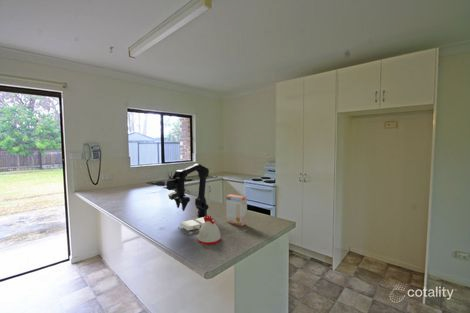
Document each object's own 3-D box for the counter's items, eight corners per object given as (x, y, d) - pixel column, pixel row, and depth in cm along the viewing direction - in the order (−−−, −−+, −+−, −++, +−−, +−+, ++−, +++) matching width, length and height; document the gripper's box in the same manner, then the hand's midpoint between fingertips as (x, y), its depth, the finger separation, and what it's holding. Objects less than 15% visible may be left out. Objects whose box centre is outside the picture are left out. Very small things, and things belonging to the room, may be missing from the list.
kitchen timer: (207, 233, 142) (207, 211, 142) (225, 238, 136) (224, 214, 135) (193, 241, 130) (192, 217, 130) (211, 247, 124) (211, 221, 123)
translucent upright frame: (246, 224, 159) (246, 196, 158) (241, 227, 154) (241, 197, 153) (231, 220, 167) (231, 193, 166) (226, 222, 163) (226, 195, 162)
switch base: (205, 221, 164) (205, 220, 164) (217, 228, 152) (217, 226, 152) (177, 228, 151) (177, 226, 151) (188, 236, 138) (187, 234, 138)
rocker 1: (192, 222, 156) (192, 219, 156) (200, 227, 146) (200, 224, 146) (180, 225, 150) (180, 221, 150) (188, 230, 140) (188, 227, 140)
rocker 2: (205, 219, 162) (205, 216, 162) (214, 224, 152) (214, 220, 152) (194, 222, 157) (194, 218, 157) (203, 227, 147) (203, 223, 147)
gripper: (164, 187, 158) (165, 208, 159) (174, 191, 143) (175, 214, 144) (179, 185, 165) (179, 205, 165) (190, 189, 150) (190, 211, 151)
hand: (180, 209), depth 156 cm, fingers open, 9 cm apart
